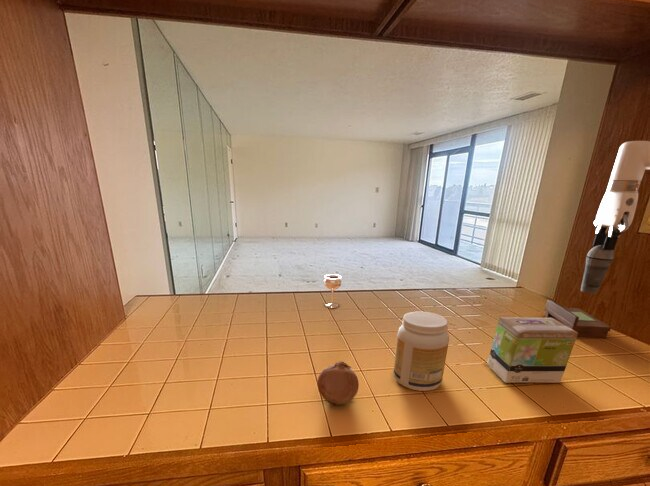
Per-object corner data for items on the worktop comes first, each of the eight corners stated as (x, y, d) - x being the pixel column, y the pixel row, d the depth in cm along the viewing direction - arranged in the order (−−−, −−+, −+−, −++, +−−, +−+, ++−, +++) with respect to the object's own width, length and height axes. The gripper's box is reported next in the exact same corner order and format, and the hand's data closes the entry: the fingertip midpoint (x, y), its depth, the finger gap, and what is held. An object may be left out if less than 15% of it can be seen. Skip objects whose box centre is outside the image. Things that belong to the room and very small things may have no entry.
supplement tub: (450, 380, 89) (462, 319, 82) (424, 399, 81) (435, 333, 74) (409, 362, 97) (417, 306, 90) (383, 378, 89) (389, 317, 83)
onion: (337, 400, 85) (344, 360, 85) (363, 411, 77) (370, 366, 78) (305, 399, 79) (313, 356, 80) (330, 410, 72) (338, 362, 72)
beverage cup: (580, 287, 121) (598, 228, 114) (604, 292, 116) (626, 231, 108) (572, 290, 117) (590, 230, 110) (597, 296, 112) (619, 233, 104)
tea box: (505, 384, 87) (520, 331, 82) (486, 364, 97) (497, 316, 91) (562, 383, 89) (579, 331, 83) (537, 364, 98) (551, 315, 92)
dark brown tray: (575, 318, 131) (581, 300, 129) (607, 338, 115) (614, 318, 112) (542, 316, 132) (547, 299, 129) (569, 336, 116) (576, 317, 113)
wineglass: (320, 306, 138) (320, 276, 133) (330, 301, 143) (330, 273, 138) (334, 309, 134) (335, 280, 129) (343, 305, 139) (345, 276, 134)
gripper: (658, 188, 96) (634, 253, 103) (616, 186, 111) (597, 243, 119) (630, 187, 96) (608, 253, 104) (592, 186, 112) (575, 243, 119)
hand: (602, 247), depth 111 cm, fingers closed on beverage cup, 4 cm apart
